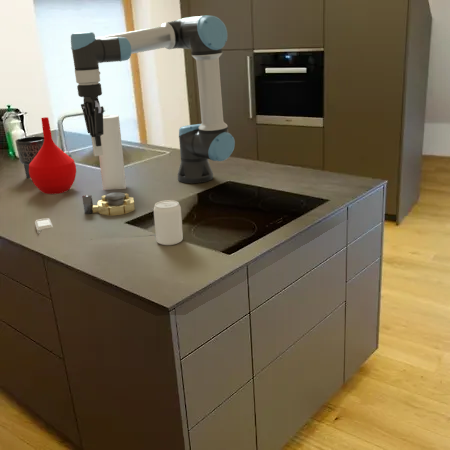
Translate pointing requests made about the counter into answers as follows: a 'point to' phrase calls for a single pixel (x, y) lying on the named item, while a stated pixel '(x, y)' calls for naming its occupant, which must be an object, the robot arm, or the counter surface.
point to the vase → (51, 166)
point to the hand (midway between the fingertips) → (98, 155)
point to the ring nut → (108, 206)
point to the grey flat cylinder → (115, 198)
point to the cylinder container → (112, 154)
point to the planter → (28, 150)
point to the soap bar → (43, 224)
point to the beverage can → (168, 222)
